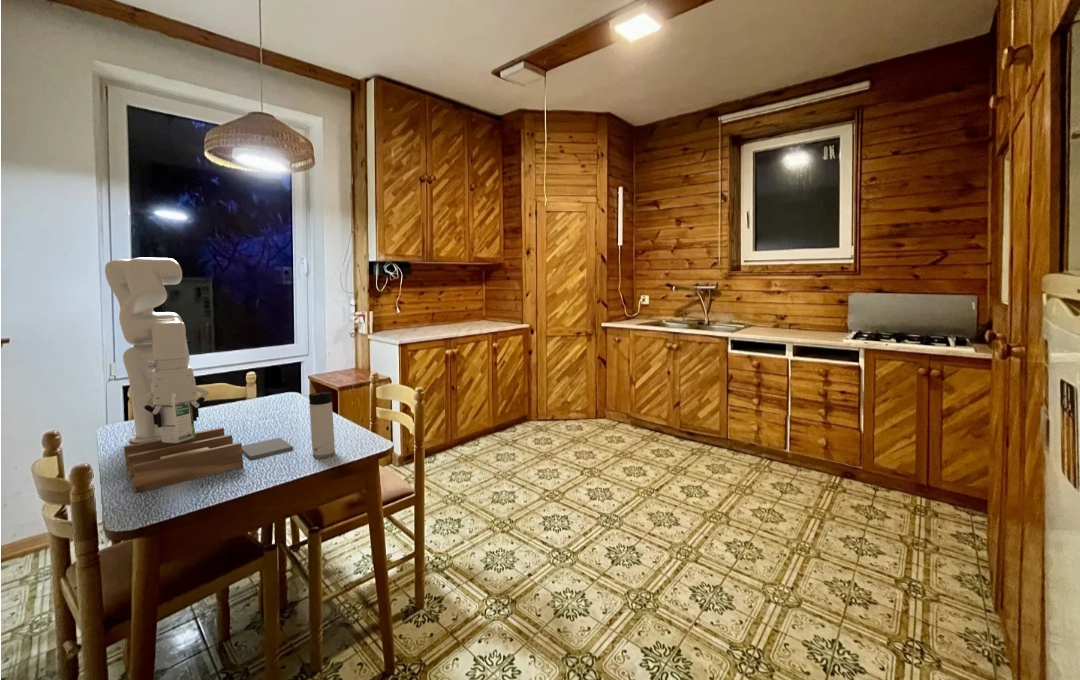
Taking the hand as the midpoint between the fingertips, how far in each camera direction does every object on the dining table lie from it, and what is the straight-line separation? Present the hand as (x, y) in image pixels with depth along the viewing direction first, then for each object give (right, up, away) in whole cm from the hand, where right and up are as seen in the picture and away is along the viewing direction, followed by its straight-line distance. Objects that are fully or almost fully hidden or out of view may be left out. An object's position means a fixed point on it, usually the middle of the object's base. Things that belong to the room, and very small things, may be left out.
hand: (177, 422), depth 142 cm
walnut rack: (+4, -13, -2) cm, 13 cm away
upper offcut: (+7, -11, -6) cm, 14 cm away
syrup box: (0, -5, 0) cm, 5 cm away
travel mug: (+39, -11, +8) cm, 42 cm away
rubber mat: (+19, -11, +13) cm, 25 cm away
